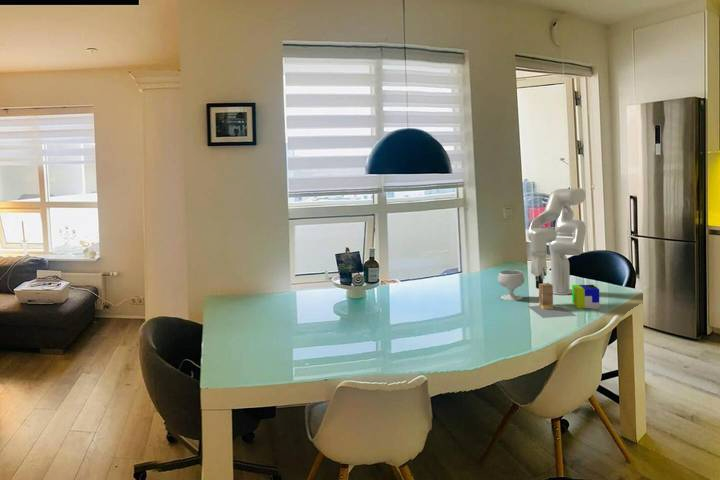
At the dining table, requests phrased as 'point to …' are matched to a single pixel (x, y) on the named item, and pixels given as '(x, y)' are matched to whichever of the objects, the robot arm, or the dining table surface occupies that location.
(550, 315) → the rubber mat
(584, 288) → the puzzle toy
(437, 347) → the dining table surface
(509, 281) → the chalice
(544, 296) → the walnut block
